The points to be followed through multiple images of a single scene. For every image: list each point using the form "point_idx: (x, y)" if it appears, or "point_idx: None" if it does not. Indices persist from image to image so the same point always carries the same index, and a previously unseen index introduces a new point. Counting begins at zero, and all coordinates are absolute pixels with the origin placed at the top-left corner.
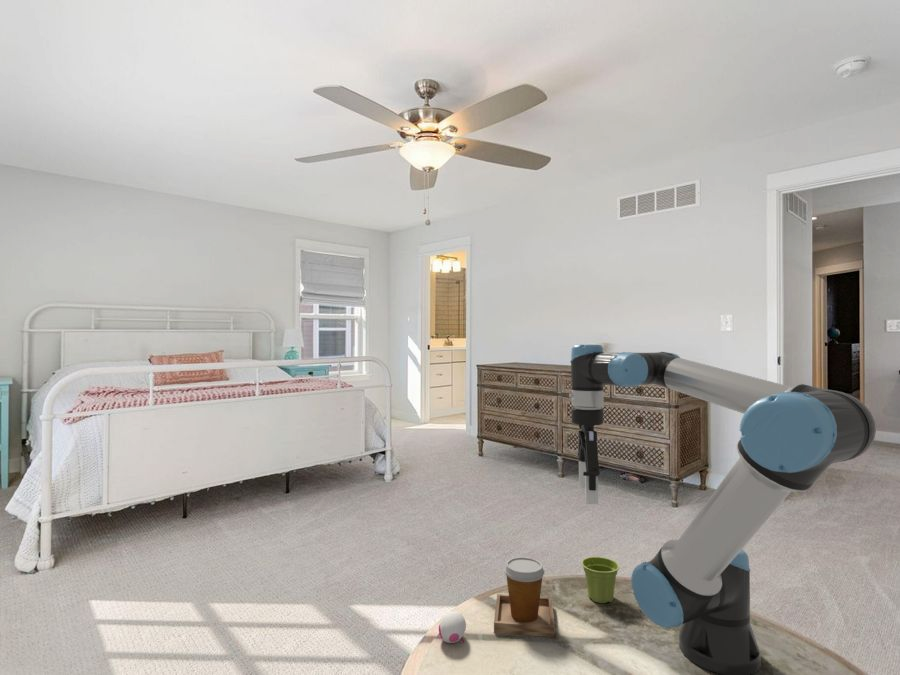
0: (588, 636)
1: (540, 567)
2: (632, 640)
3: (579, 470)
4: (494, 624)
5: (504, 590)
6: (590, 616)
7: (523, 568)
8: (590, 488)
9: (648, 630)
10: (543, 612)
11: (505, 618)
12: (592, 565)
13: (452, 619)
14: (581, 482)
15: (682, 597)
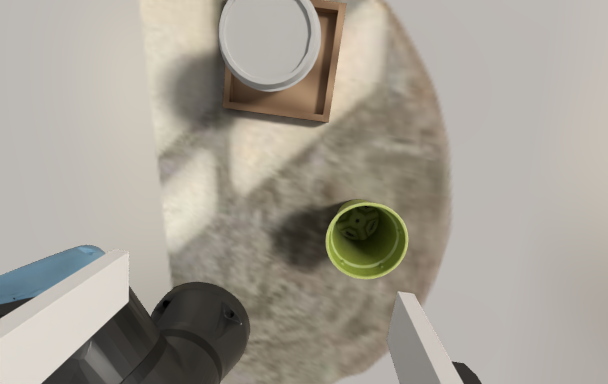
0: (234, 164)
1: (251, 77)
2: (227, 227)
3: (430, 364)
4: None
5: (396, 31)
6: (294, 184)
7: (252, 30)
8: (12, 310)
9: (255, 259)
10: (293, 99)
11: None
12: (395, 228)
13: None
14: (403, 319)
15: None
